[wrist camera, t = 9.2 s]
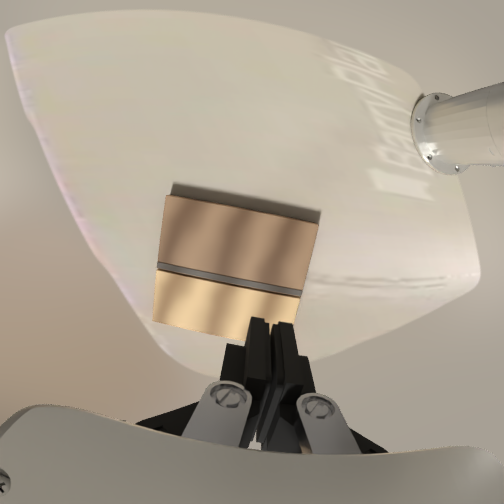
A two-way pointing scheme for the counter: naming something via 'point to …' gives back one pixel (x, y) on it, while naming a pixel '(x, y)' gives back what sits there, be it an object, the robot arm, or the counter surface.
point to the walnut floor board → (235, 245)
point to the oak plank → (217, 305)
